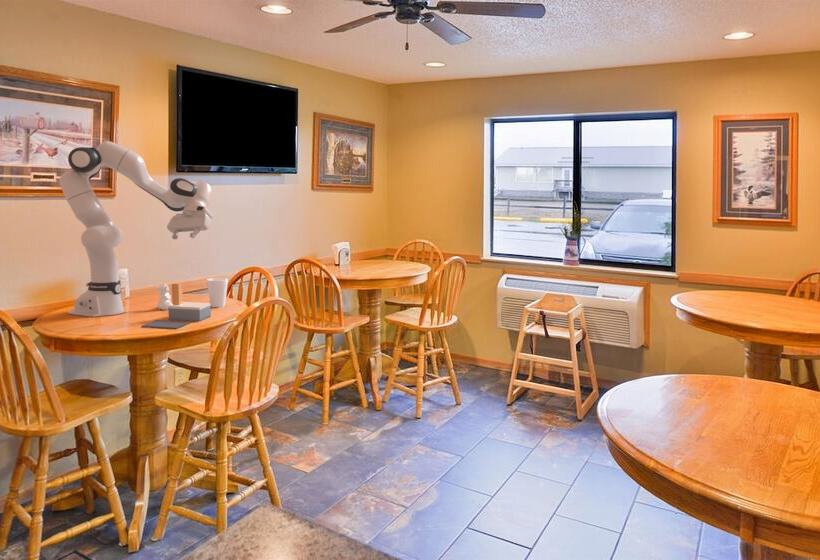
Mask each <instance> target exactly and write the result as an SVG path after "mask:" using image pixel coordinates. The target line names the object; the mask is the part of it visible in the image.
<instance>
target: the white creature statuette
mask: <svg viewBox="0 0 820 560" xmlns="http://www.w3.org/2000/svg"><path fill="white" fill-rule="evenodd" d="M155 286H156V285H155ZM155 288H156V290H157V291H158V292H160V295H159V299H158V302H157V308H158V309H159V310H160V309H162V310H161V311H166V310H165V309H168V306H170V305H173V303H172V302H171V299H172V295H170V293H169V292H170V287H169V286H168V285H167V284H166V283H161V284H159V285H157V286H156V287H155Z"/></svg>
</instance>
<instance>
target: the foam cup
mask: <svg viewBox="0 0 820 560" xmlns="http://www.w3.org/2000/svg"><path fill="white" fill-rule="evenodd" d="M206 285H207V291H208V297H209V302H210V306H211V308H214V307H220V308H224V307H225V306H226V300H227V292H228V285H229V279H228V278H226V277H225V278H224V277H211V278H207V279H206Z"/></svg>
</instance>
